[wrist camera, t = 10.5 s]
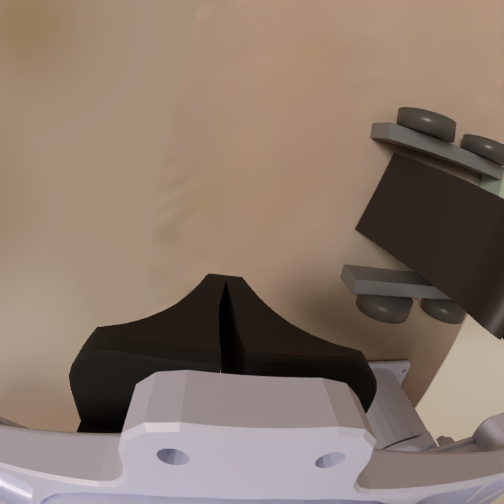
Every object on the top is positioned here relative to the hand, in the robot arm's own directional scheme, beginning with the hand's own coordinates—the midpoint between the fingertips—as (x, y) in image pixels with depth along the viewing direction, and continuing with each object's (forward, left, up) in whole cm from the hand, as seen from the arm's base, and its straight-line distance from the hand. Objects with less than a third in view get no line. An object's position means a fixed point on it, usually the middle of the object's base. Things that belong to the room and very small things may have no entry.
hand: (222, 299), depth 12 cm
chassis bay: (+3, -14, -9) cm, 17 cm away
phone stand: (+3, -14, -10) cm, 17 cm away
